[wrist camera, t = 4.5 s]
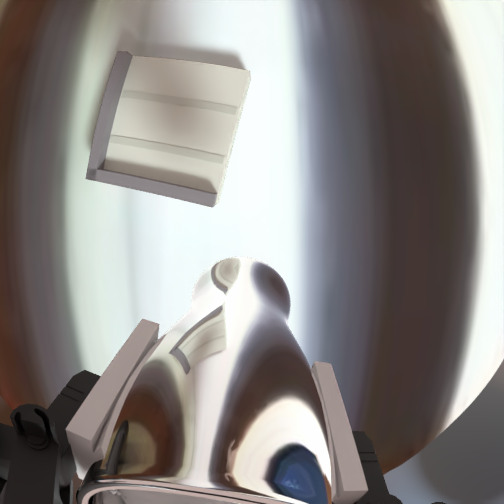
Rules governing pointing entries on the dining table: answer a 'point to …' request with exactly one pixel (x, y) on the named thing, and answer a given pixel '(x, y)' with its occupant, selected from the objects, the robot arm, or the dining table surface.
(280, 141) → the dining table surface
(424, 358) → the dining table surface
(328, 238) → the dining table surface
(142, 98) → the dock
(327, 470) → the beer glass
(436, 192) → the dining table surface
